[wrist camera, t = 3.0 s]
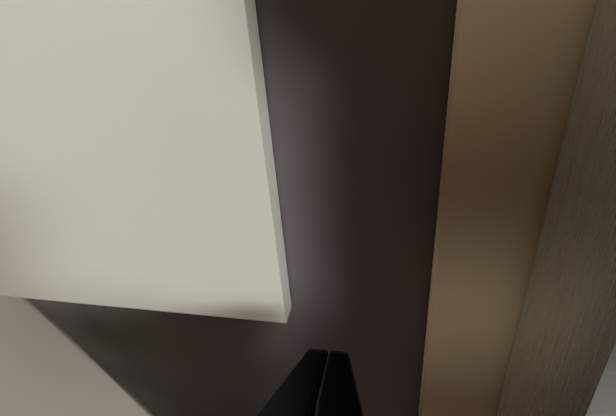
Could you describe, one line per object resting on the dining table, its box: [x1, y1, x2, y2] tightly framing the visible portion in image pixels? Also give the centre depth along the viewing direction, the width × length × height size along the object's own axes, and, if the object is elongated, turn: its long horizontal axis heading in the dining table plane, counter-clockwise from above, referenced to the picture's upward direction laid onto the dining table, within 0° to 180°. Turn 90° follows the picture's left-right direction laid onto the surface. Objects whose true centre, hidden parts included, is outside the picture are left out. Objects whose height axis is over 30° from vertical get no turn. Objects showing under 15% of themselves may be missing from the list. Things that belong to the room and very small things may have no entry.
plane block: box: [418, 0, 597, 416], centre depth 9 cm, size 17×6×1 cm, turn 4°
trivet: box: [0, 0, 292, 323], centre depth 10 cm, size 12×11×1 cm
